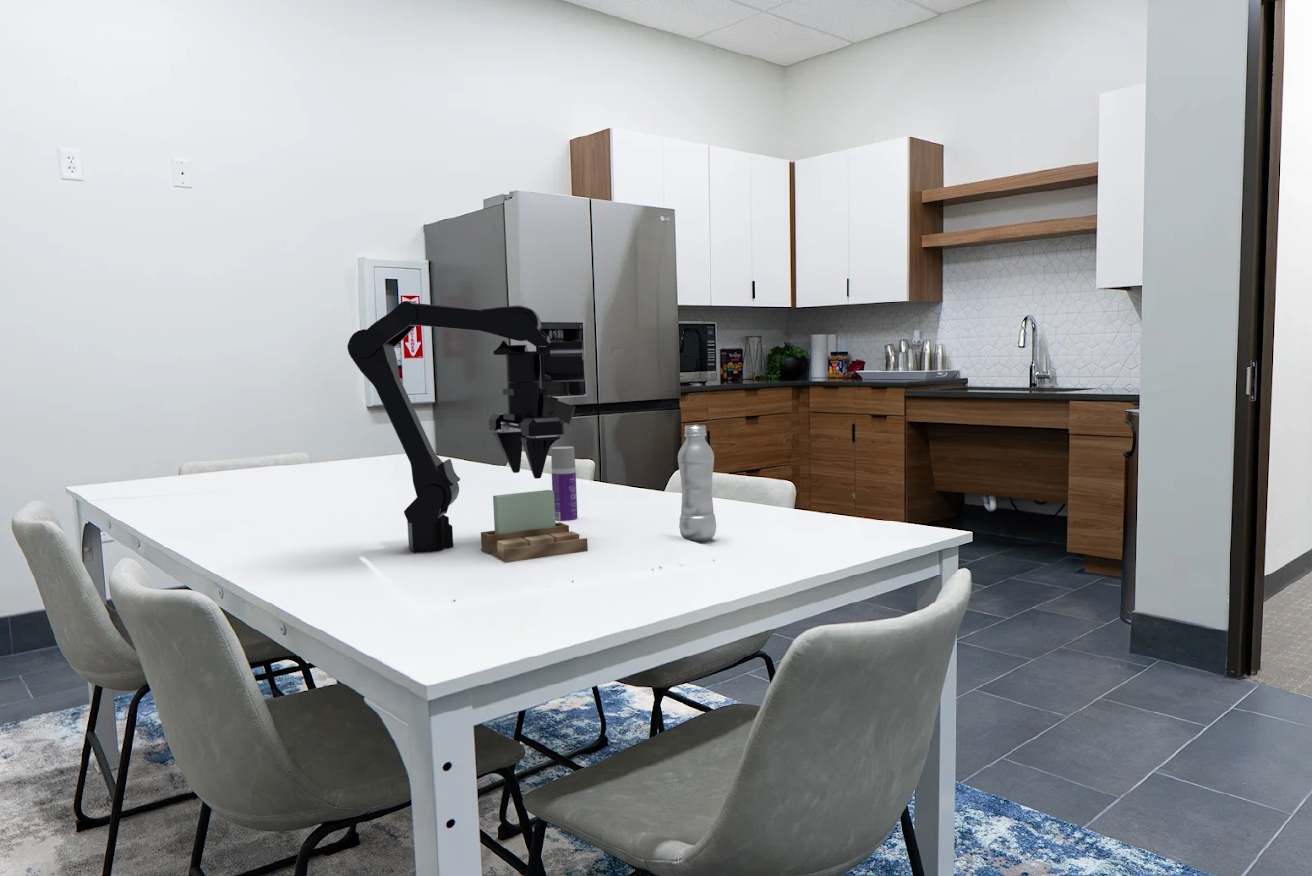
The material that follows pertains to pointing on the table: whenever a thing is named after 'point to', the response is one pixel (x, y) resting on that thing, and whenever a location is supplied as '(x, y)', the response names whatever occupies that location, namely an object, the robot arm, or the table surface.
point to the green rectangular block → (524, 511)
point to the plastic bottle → (696, 486)
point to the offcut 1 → (510, 545)
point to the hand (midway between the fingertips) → (526, 475)
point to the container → (564, 483)
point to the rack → (532, 551)
